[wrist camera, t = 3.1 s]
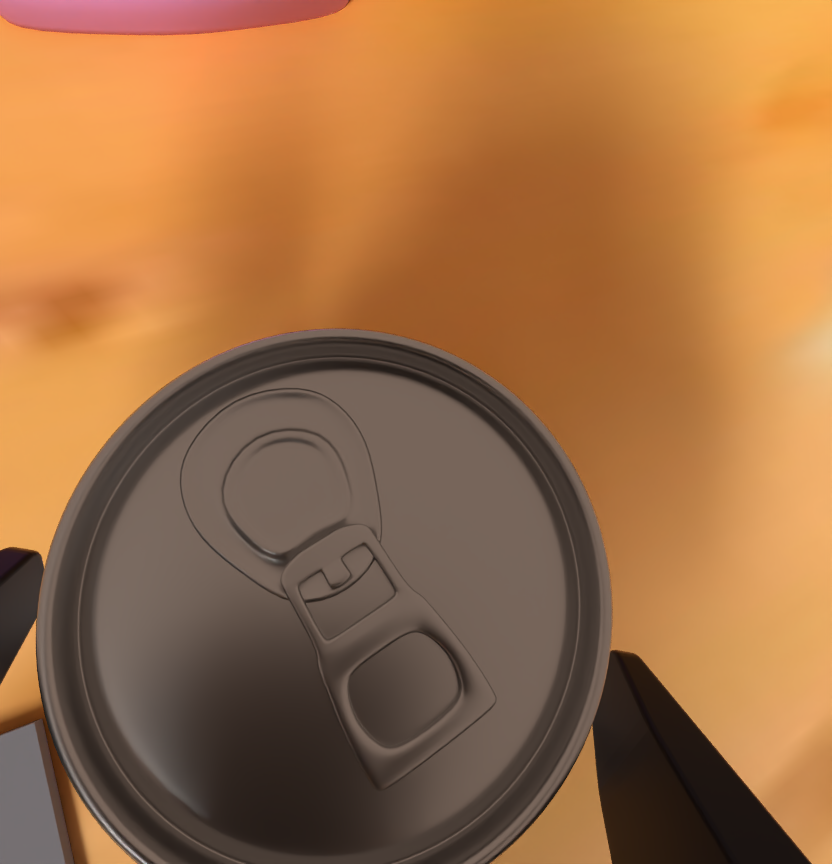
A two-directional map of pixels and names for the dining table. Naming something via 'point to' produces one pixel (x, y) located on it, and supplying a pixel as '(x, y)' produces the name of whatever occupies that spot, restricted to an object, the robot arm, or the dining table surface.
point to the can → (324, 612)
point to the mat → (30, 801)
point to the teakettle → (160, 15)
